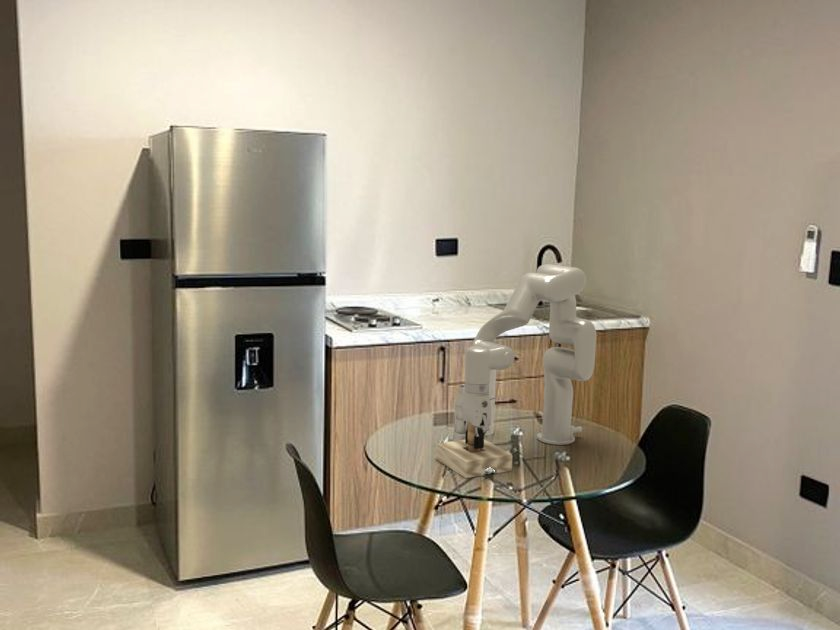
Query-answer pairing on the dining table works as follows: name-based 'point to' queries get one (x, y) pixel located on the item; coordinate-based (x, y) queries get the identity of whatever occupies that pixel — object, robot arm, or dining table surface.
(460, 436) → the plastic bottle
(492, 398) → the cylindrical container
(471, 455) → the block
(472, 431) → the peg
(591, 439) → the dining table surface
